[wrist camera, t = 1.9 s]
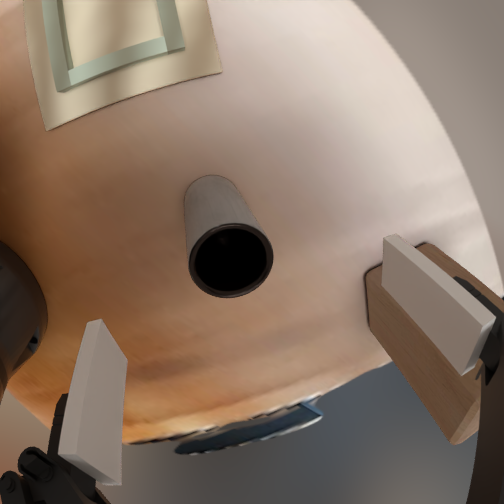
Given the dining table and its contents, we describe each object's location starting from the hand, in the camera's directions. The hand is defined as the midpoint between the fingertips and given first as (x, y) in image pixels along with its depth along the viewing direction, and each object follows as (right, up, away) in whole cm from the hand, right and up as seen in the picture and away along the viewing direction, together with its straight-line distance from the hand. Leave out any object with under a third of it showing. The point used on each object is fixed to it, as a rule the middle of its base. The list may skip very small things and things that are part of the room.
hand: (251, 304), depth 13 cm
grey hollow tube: (-3, +6, +12) cm, 14 cm away
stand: (-10, +20, +3) cm, 22 cm away
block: (+18, -2, +22) cm, 28 cm away
